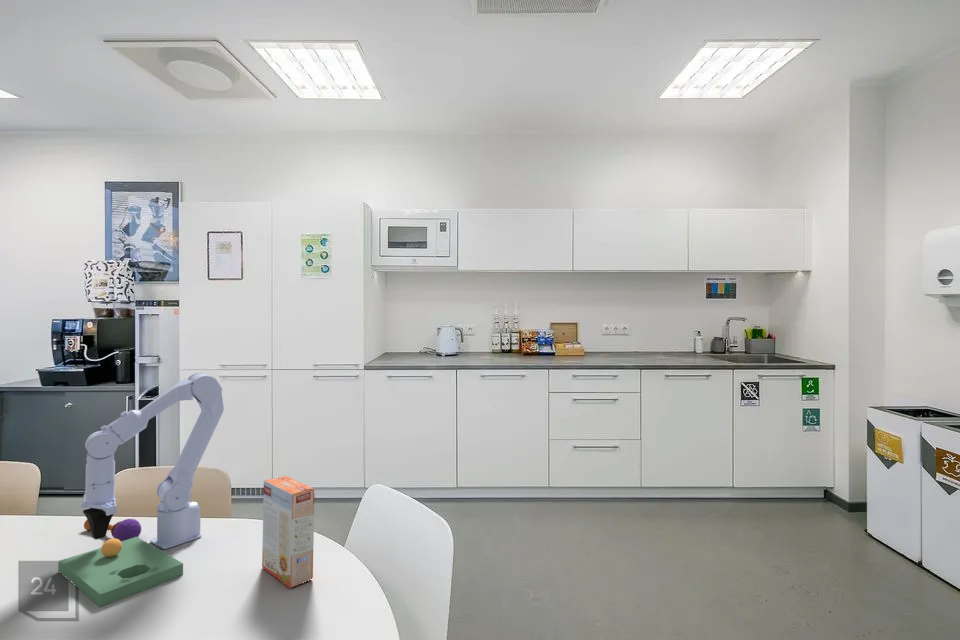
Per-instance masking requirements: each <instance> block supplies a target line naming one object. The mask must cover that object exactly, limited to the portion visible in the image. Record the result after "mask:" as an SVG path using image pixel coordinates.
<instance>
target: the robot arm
mask: <svg viewBox="0 0 960 640" xmlns="http://www.w3.org/2000/svg"><path fill="white" fill-rule="evenodd" d="M222 393H223V388H222V386H221V384H220V382H218V380H217V378H215V377H213V376H211V375H207V373H203V372H195V373H193V374H191V375H190V376H189V377H187V378H184V379H182V380H180V381H179V382H177V383H176V384H175V385H173V386H171V388H169V389H168V390H166V391H165V392H163V393H162V394H161V395H159V396H158V397H156V398H155V399H154V400H152V401H150V402H149V403H148V404H147V405H145V406H144V407H142V408H141V409H139V410H138V409H130V410H129V411H126V410H125V411H123V412H121V413H120V414H119V415H120V417H118V418H116V420H114V421H112V422H110V423H109V424H108V425H106V424H104V425H103V426H101V427H100V430H99V431H95V432H93V433H91V434H90V435H89V436H88V437H87V439H86V441H85V443H84V447H85V449H86V451H87V454H86V458H85V459H86V460H85V461H86V464H85V479H84V480H85V481H84V482H85V484H84V485H85V487H84V489H85V490H84V494H83V501H82V502H81V503H79V504H78V508H81V509H84V508H86V509H84V510H82V514H84V516H85V518H86V520H88V522H89V525H90V528H91V530H90V532H91V536H92V539H94V540H95V541H96V540H100V539H103V538H106V535H107V533H108V530H107V529H108V526H109V524H110V523H111V520H112V518H113V517H114V515H115V514H118V504H117V503H116V499H117V498H116V496H115V495H116V494H115V493H116V492H115V490H116V489H115V488H116V487H115V486H116V483H115V482H116V478H115V477H116V460H115V453H116V452H117V449H118V447H119V446H120V445H123V444H125V443H126V442H127V441H129V440H131V439H132V438H133V437H134V436H137V435H138V434H139V433H140V432H142V431H144V430H145V429H146V428H147V426H148V423H149V420H151V419H153V418H154V417H156V416H158V415H159V414H161V413H162V412H164V411H165V410H167V409H168V408H170V407H172V406H173V405H175V404H176V403H178V402H181V401H183V402H184V401H192V400H194V399H195V400H196V402H197V404H198V406H199V408H200V412H199V413H200V414H199V415H198V417H197V419H196V421H195V424H194V426H193V428H192V430H191V431H190V434H189V435H188V438H187V441H186V442H185V444H184V447H183V449H182V450H181V452H180V455H179V457H178V458H177V460H176V463H175V465H174V467H173V468H172V469H170V471H169V472H168V473H167V476H166V477H165V479H163V480H162V481H160V482H159V484H158V487H157V489H156V494H157V497H158V498H159V499H160V500H161V501H160V503H159V504H158V506H157V512H156V513H157V516H156V519H157V523H156V524H157V525H156V527H157V528H156V537H154V538H151V539H150V540H149V541H150V543H152V544H154V545H155V546H157V547H159V548H160V549H163V550H168V549H170V548H173V547H176V546H179V545H182V544H186V543H187V542H190V541H193V540H196V539H199V538H202V536H203V535H202V534H201V508H200V506H199V504H198V502H196V501H190V500H191V498H192V493H191V492H192V487H193V485H194V479H195V473H196V470H197V468H198V466H199V464H200V462H201V460H202V458H203V457H204V454H205V451H206V449H207V448H208V445H209V443H210V441H211V440H212V439H211V438H212V436H213V434H214V432H215V430H216V429H217V426H218V424H219V421H220V419H221V418H222V416H223V414H224V410H225V409H224V401H223V399H224V398H223V394H222Z"/></svg>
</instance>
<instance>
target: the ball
mask: <svg viewBox="0 0 960 640" xmlns="http://www.w3.org/2000/svg"><path fill="white" fill-rule="evenodd" d="M100 548H101V552H102V554H103V555H104V556H106V557H113V556H115V555H117V554H118V553H119V552H120V551H121V549H122V543H121V541H120V540H119V539H115V538H114V537H113V538H110V539H107V540H106V541H105V542H104V543H103V544H102V546H101V547H100Z"/></svg>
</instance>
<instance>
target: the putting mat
mask: <svg viewBox="0 0 960 640" xmlns="http://www.w3.org/2000/svg"><path fill="white" fill-rule="evenodd" d="M121 543H122V549H121V551H120V552H119V553H118V554H117V555H115V556H113V557H106V556H104V555H103V554H102V552H101V547H98V548H96V549H93V550H90V551H86V552H84V553H80V554H77V555H74V556H71V557H68V558H67V557H66V558H63V559H61V560H58V561H57V562H58V563H57V564H58V566H57V569H58V570H57V571H59V572H61V573H62V574H63V575H64V576H66V577H67V578H68V579H69V580H70V581H72V582H73V583H74V584H75V585H76V586H77V587H78V588H79V589H80V590H79V591H81V592H82V593H83V594H84V595H85V596H86V597H88V598H89V597H90V598H91V599H90V598H89V599H90V600H91V601H93V602H94V601H95V602H96V603H97V604H96V603H95V602H94V603H95V604H96V605H97V606H98V607H100V606H101V607H104V606H105V605H108V603H109V604H111V603H114V602H115V601H116V602H117V601H118V600H121V599H124V598H126V597H129V596H131V595H134V594H137V593H139V592H142V591H145V590H146V589H150V588H151V587H154V586H157V585H160V584H162V583H164V582H167V581H169V580H172V579H174V578H177V577H180V576H183V575H184V563H183V562H181V561H179V560H178V559H176V558H174V557H173V556H171V555H169V554H167V553H166V552H164V551H162V550H161V549H159V548H157V547H156V546H154V545H151V544H150V543H149V542H147V541H145V540H144V539H142V538H140V537H139V536H138V537H134V538H131V539H128V540H124V541H121ZM59 572H58V573H59ZM63 575H62V576H63ZM64 576H63V577H64ZM69 580H68V581H69ZM70 581H69V582H70ZM75 585H74V586H75ZM76 586H75V587H76ZM77 587H76V588H77ZM78 588H77V589H78ZM103 605H104V606H103Z"/></svg>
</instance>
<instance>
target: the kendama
mask: <svg viewBox="0 0 960 640" xmlns="http://www.w3.org/2000/svg"><path fill="white" fill-rule="evenodd" d="M83 528H84V530H86V531H91V528H90V525H89V522H88V520H87V519H85V521H84V523H83ZM107 531H110V533H111V536H112V537H113V538H115V539H119V540H120V541H124V540H128V539H131V538H134V537H138V538H139V536H140V534H141V532H142V525H141V524H140V522H139V520H137V519H134V518H126V519H123V520H121V521H118V522H116V523H115V524H113V525H112V524H110V523H109V526H108V529H107Z"/></svg>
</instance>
